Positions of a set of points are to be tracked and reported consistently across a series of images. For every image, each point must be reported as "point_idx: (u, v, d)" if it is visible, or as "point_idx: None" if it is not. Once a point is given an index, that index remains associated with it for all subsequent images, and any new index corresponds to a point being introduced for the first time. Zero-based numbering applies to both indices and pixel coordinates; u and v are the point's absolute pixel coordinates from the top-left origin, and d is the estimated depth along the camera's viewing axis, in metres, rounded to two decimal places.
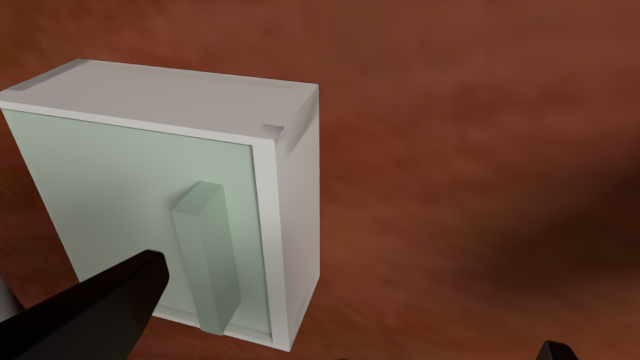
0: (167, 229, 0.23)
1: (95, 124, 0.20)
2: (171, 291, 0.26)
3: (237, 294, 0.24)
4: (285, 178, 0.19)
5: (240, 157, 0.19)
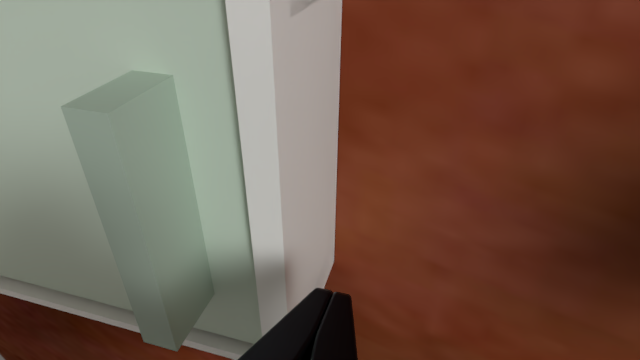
0: None
1: None
2: (108, 278, 0.17)
3: (207, 282, 0.14)
4: (288, 57, 0.10)
5: (201, 8, 0.10)
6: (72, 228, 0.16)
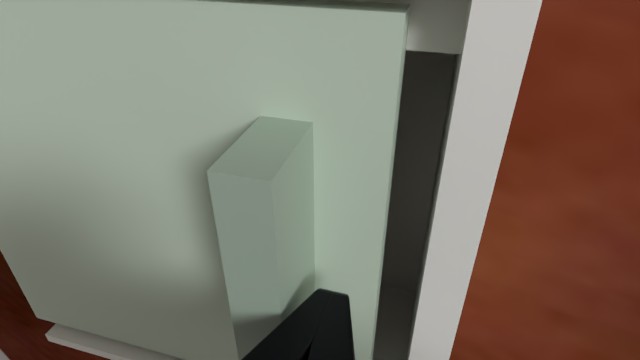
0: (184, 224, 0.12)
1: None
2: (187, 333, 0.15)
3: None
4: None
5: (367, 47, 0.08)
6: (152, 280, 0.14)
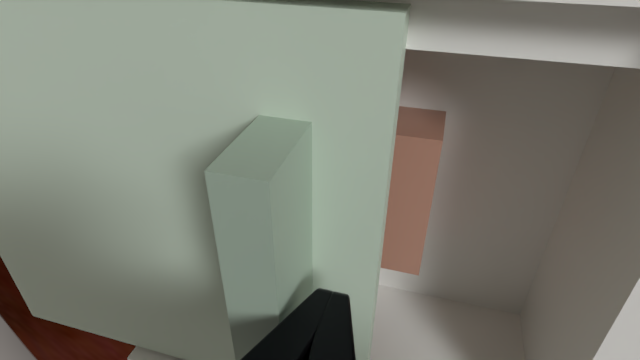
0: (181, 223, 0.12)
1: None
2: (183, 333, 0.15)
3: None
4: None
5: (367, 47, 0.08)
6: (149, 279, 0.14)
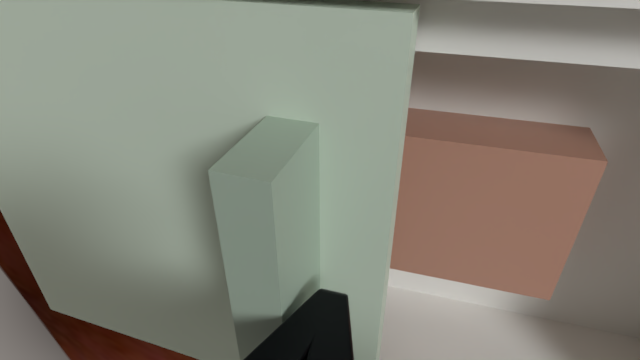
0: (191, 223, 0.12)
1: None
2: (193, 331, 0.15)
3: None
4: None
5: (374, 48, 0.08)
6: (161, 277, 0.14)
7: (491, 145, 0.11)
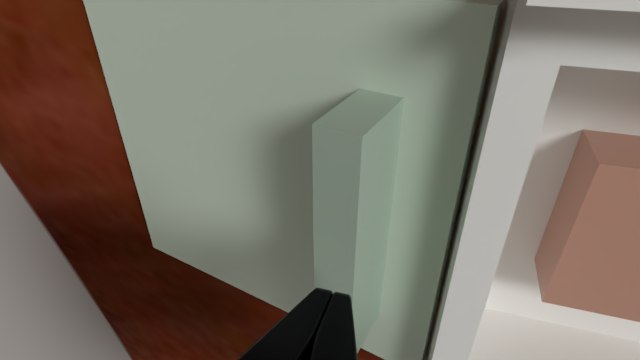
0: (283, 179, 0.14)
1: None
2: (270, 278, 0.17)
3: (378, 303, 0.14)
4: None
5: (460, 34, 0.09)
6: (249, 226, 0.16)
7: None
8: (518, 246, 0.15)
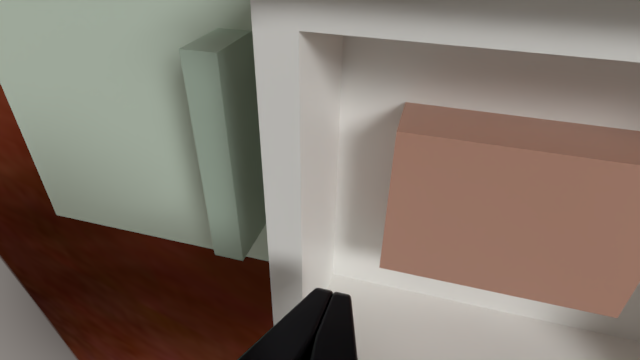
0: (169, 118, 0.17)
1: None
2: (173, 215, 0.20)
3: (262, 210, 0.18)
4: None
5: None
6: (147, 169, 0.19)
7: (571, 154, 0.10)
8: (372, 217, 0.16)
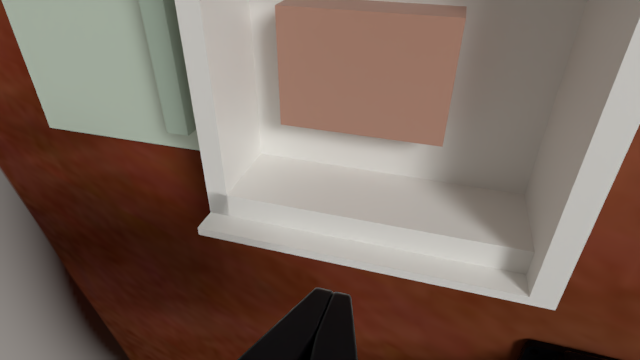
0: (133, 29, 0.22)
1: None
2: (140, 117, 0.25)
3: None
4: None
5: None
6: (118, 77, 0.24)
7: None
8: None
